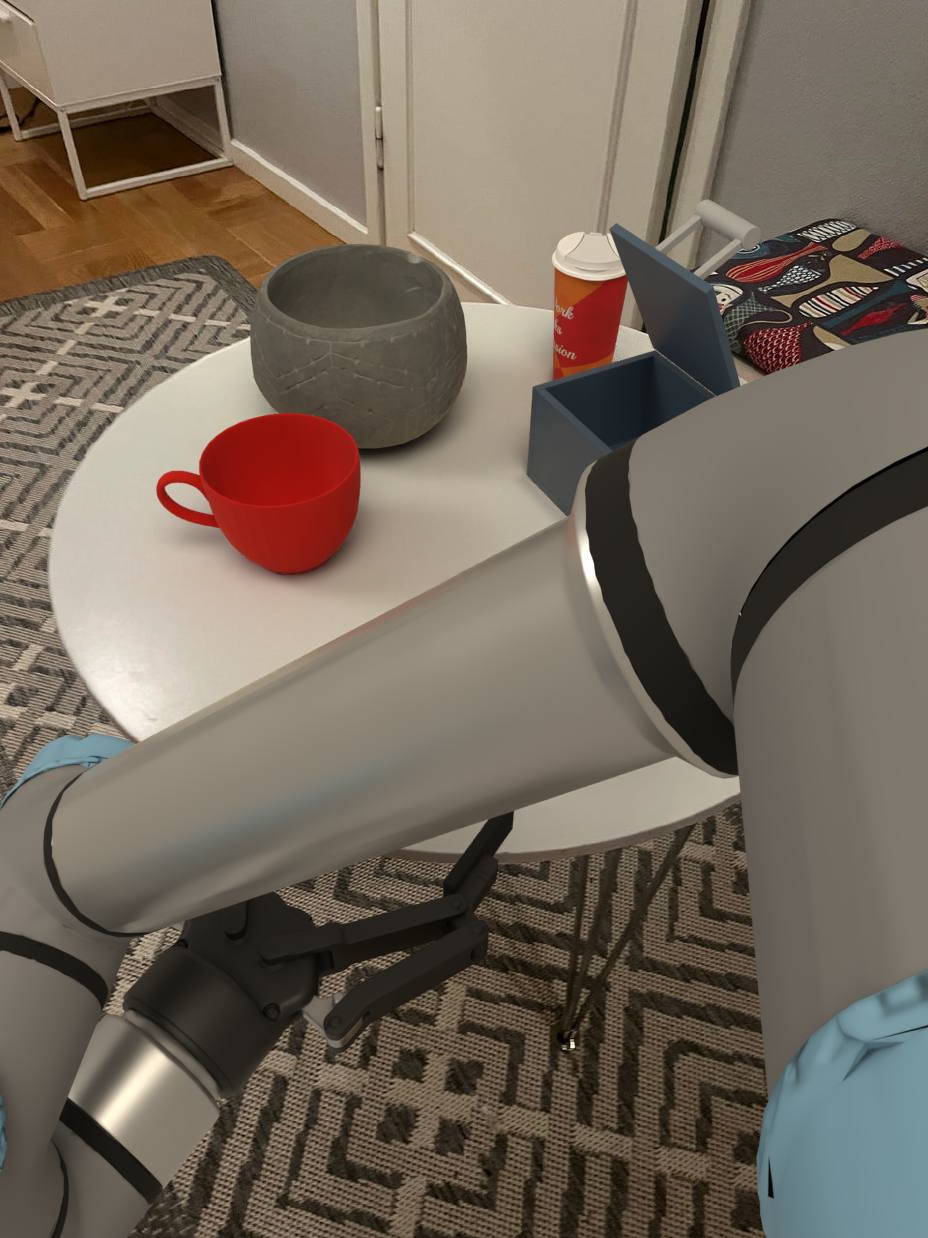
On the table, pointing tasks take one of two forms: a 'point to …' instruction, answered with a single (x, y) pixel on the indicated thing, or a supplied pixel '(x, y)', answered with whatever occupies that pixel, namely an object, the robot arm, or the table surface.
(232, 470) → the ceramic cup
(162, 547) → the table surface
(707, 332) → the box lid
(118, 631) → the table surface
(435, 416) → the bowl
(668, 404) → the open box
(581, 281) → the coffee cup
